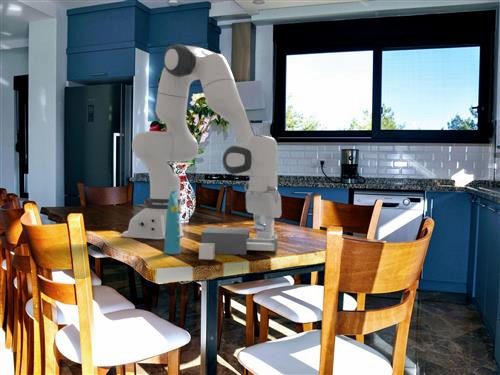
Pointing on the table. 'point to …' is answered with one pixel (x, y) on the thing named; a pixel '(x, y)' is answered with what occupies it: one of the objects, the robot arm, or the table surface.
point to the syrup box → (265, 234)
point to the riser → (207, 251)
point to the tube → (172, 226)
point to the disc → (260, 227)
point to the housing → (226, 239)
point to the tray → (262, 244)
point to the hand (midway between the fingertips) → (262, 229)
